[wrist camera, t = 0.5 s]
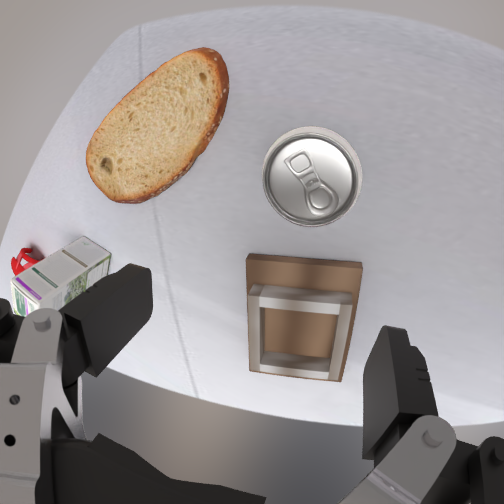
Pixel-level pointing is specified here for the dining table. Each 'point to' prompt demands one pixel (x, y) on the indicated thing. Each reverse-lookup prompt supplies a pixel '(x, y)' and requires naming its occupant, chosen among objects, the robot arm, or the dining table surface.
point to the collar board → (300, 315)
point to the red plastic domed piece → (16, 264)
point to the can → (311, 176)
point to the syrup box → (59, 277)
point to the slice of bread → (159, 127)
